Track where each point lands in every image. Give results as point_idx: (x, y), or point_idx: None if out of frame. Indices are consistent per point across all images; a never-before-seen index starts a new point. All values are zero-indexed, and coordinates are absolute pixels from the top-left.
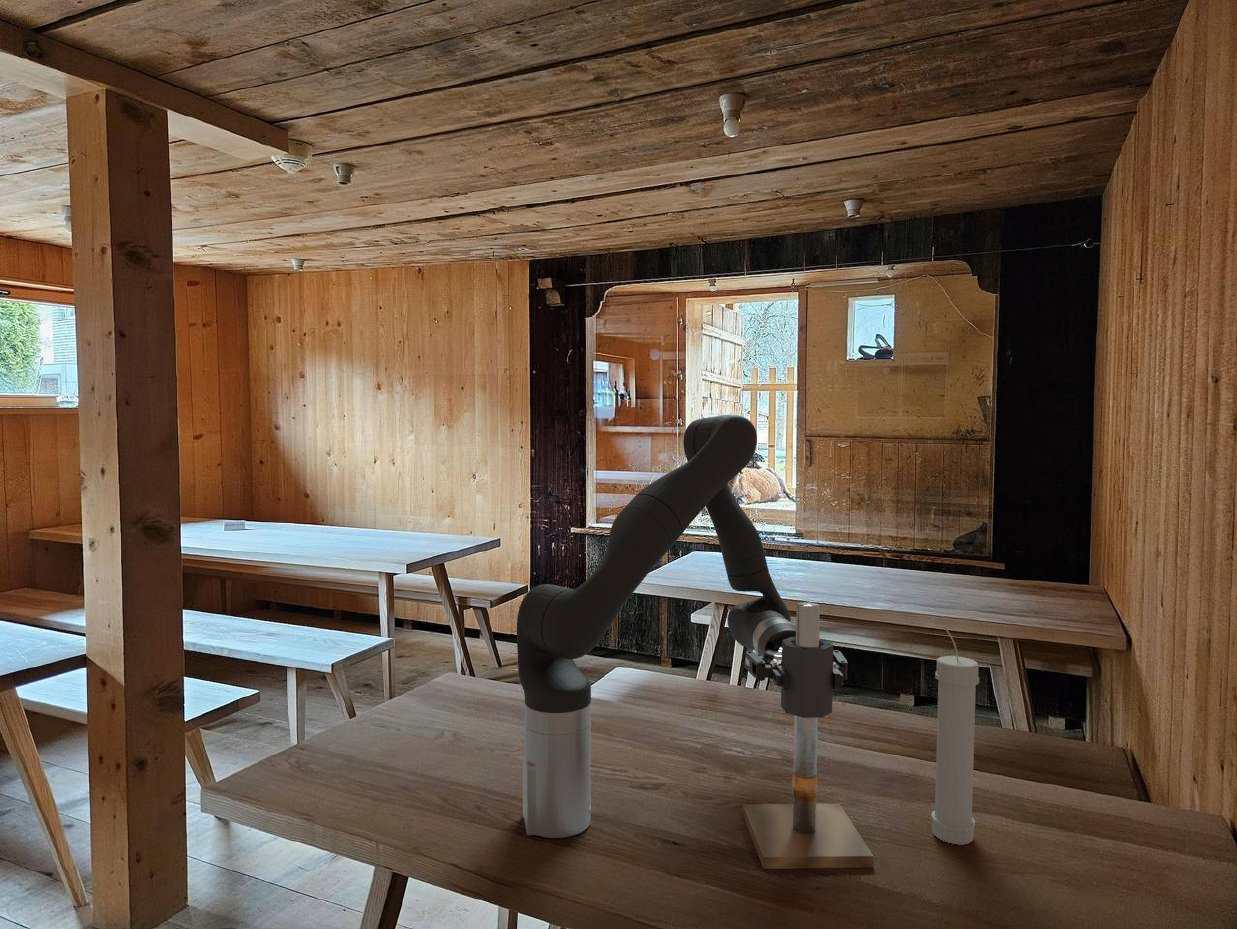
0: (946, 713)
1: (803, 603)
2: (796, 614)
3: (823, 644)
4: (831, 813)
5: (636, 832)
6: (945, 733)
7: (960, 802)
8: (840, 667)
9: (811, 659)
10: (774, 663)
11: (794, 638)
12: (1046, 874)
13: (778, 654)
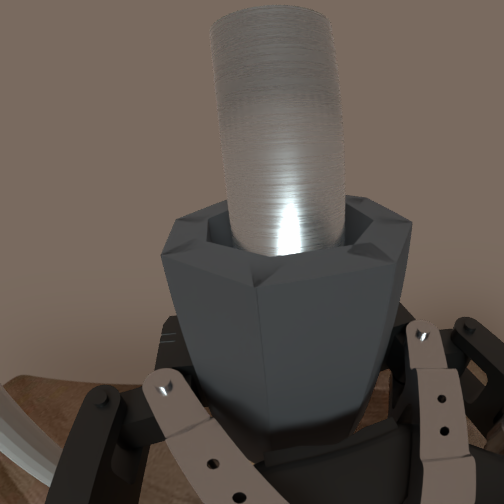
0: (5, 395)
1: (295, 16)
2: (336, 74)
3: (208, 232)
4: None
5: (473, 434)
6: (26, 419)
7: None
8: (132, 390)
9: None
10: (422, 326)
11: (368, 245)
12: (63, 426)
13: (446, 385)
